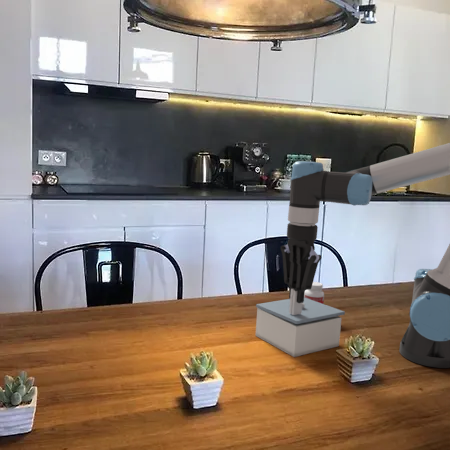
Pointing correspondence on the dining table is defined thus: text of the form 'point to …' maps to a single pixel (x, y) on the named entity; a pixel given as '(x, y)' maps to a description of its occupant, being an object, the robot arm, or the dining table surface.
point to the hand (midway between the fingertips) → (295, 313)
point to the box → (298, 333)
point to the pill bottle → (315, 293)
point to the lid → (309, 310)
